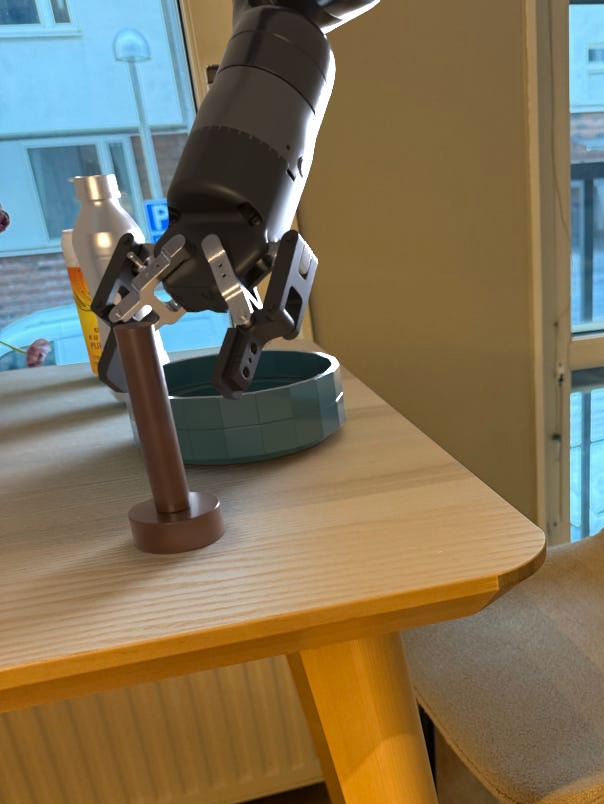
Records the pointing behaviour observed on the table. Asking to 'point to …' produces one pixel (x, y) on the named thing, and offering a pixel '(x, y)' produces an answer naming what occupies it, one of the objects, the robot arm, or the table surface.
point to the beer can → (82, 301)
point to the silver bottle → (103, 241)
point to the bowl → (253, 407)
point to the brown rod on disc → (162, 455)
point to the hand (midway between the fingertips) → (167, 389)
